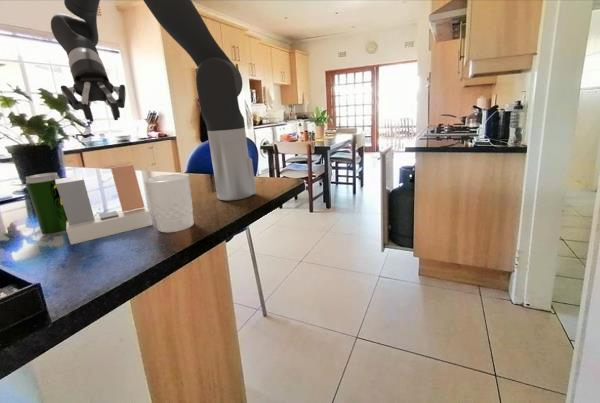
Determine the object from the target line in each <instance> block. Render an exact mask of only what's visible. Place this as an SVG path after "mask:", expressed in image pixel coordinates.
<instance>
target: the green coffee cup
mask: <svg viewBox="0 0 600 403" xmlns="http://www.w3.org/2000/svg"><path fill="white" fill-rule="evenodd" d="M25 179H26V180H25V184H26V188H27V191H28V194H29V197H30V199H31V200H30V201H31V203H32V206H33V211H34V212H35V216H36V218H37V223H38V225H39V228H40V232H41V234H42V235H43V236H44V237H45V238H46V237H48V238H50V237H52V238H53V237H59V236H63V235H65V234H67V230H66V224H67V222H68V219H67V216H66V213H65V210H64V207H63V204H62V201H61V198H60V195H59V192H58V189H57V186H56V182H55V179H61V177H60V176H59V175H58V172H46V173H39V174H33V175H29V176H25Z"/></svg>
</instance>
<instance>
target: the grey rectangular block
mask: <svg viewBox="0 0 600 403" xmlns="http://www.w3.org/2000/svg"><path fill="white" fill-rule="evenodd" d="M55 182H56V186H57V189H58V192H59V195H60V198H61V201H62V204H63V207H64V210H65V213H66V216H67V219H68V222H69V225H73V224H78V223H83V222H87V221H92V220H95V219H94V213H93V209H92V206H91V201H90V198H89V194H88V190H87V187H86V183H85V180H84V175H77V176H69V177H64V178H60V179H55Z"/></svg>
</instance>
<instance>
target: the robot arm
mask: <svg viewBox="0 0 600 403" xmlns="http://www.w3.org/2000/svg"><path fill="white" fill-rule="evenodd" d="M100 1H101V0H63V3H64V6H65V9H67V11H69V12H70V13H71V14H73V15H74V16H71V15H68V14H65V13H56V14H54V15H53V16H52V18H51V20H50V29H51V33H52V35H53V36H54V39H55V40H56V41H57V43H58V44H59V45H60V47H62V49H63V50H64V52H66V55H67V58H68V66H69V70H70V73H71V76H72V79H73V80H72V81H73V85H72V86H70V87H68V86H67V85H61V86H60V91H61V94H62V96H63V98H64V99H65V100H66V102H67V103H68V104H69V105H70V107H71V108H72V109H73V110H74V111H79V110H81V111H82V112H83V115H84V117H85V119H86V120H87V121H89V122H91V123H92V122H93V123H94V116H93V113H92V110H91V109H92V108H91V106H92V102H97V101H98V102H104V103H105V104H106V106H109V107H110V110H111V114H112V117H113V119H114V121H118V120H119V119H120V118H121V114H120V109H119V108H121V109H124V108H125V106H126V105H125V104H126V86H125V84H120V85H119V86H115V85H113V83H111V81H110V80H109V76H108V74H107V72H106V71H107V70H106V68H105V65H104V63H103V60H102V59H101V57H100V55H99V51H98V49H97V46H98V43H99V31H98V22H97V20H98V19H97V18H98V9H99V6H100ZM142 1H143V2H144V4H145V5H146V7H147V8H148V10H149V11H150V12H151V14H152V15H153V17H154V18H155V20H156V21H157V22H158V24H159V25H160V26H161V27H162V28H163V30H164V31H165V32H166V33H167V34H168V35H169V36H170V37H171V38H172V39H173V40H174V41H175V42H176V43H177V44H179V46H180V47H181V48H182V49H183V50H184V51H185V52H186V53H187V55H189V57H190V58H191V60H192V61H193V62H194V64H195V65H196V67H197V70H196V75H195V82H196V84H195V85H196V90H197V96H198V101H199V106H200V113H201V116H202V119H203V121H204V123H205V125H206V131H207V137H208V142H209V150H210V157H211V163H212V170H213V175H214V182H215V183H214V184H215V191H216V195H217V196H216V197H217V199H218V200H221V201H237V200H243V199H246V198H249V197H251V196H253V195H256V194H257V189H256V182H255V175H254V174H255V173H254V166H253V159H252V157H250V156H249V150H248V142H247V133H246V125H245V119H244V116H243V114H242V112H241V109H240V105H239V104H240V103H239V99H238V98H239V96H240V94H241V92H242V91H243V84H244V83H243V77H242V74H241V72H240V71H239V69H238V68H237V66H236V65H235V63H233V61H232V60H231V59H230V58H229V57H228V56H227V54H226V53H225V52H224V50H223V49H222V48H221V47H220V46H219V44H218V43H217V41H216V40H215V38H214V36H212V33H211V32H210V30H209V28H208V27H207V24H206V23H205V21H204V19H203V17H202V16H201V15H200V13H199V11H198V9H197V8H196V6H195V5H194V2H192V0H142ZM114 92H115V94H116V95H117V96H118V98H117V99H115V97H114V96H113V95H112V94H114ZM75 94H76V95H78V96H81V100H78V99H77V97H76V96H75Z"/></svg>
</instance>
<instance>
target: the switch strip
mask: <svg viewBox="0 0 600 403" xmlns="http://www.w3.org/2000/svg"><path fill="white" fill-rule="evenodd" d="M93 216H94V215H93ZM94 219H95V220H92V221H87V222H83V223H78V224H73V225H69V222H67V224H66V230H67V233H66V234H67V237H68V241H69V244H70V245H76V244H79V243H84V242H87V241H92V240H97V239H100V238H101V239H102V238H104V237H108V236H112V235H116V234H121V233H124V232H129V231H133V230H138V229H141V228H145V227H150V226H153V220H152V215H151V211H150V209H149V208H147V207H146V206H145V205H144V208H140V209H135V210H131V211H126V212H122V210H118V211H117V210H113V211H109V212H104V213H99V214H98V215H95V216H94Z"/></svg>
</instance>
